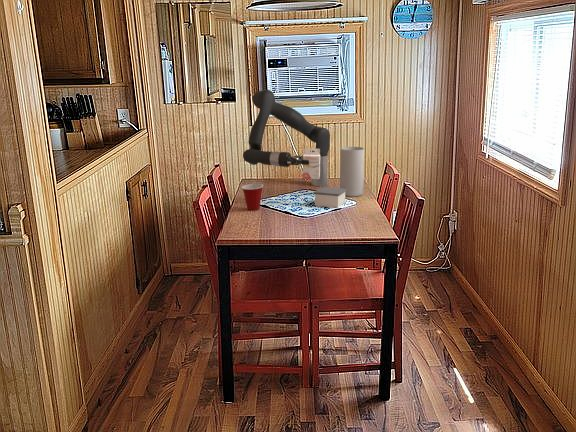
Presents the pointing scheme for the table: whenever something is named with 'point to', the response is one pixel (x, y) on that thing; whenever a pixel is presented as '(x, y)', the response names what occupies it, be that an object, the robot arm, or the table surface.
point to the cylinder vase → (352, 170)
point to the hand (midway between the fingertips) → (311, 161)
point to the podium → (330, 197)
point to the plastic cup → (253, 195)
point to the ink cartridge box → (311, 164)
